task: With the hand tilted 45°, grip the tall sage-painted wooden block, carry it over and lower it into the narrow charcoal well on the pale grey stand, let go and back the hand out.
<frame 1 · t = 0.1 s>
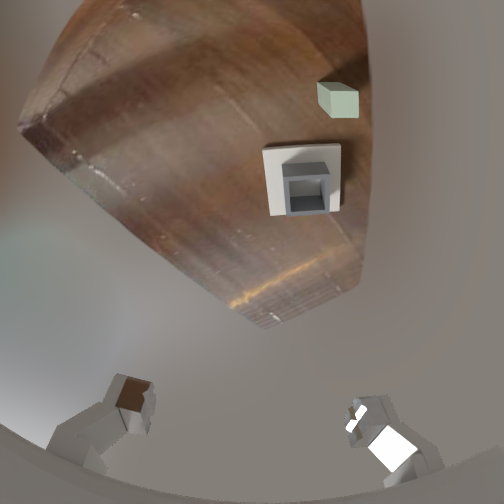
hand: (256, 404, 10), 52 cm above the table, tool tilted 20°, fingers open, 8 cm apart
sage block: (329, 92, 46), on the table
well stand: (303, 178, 59), on the table
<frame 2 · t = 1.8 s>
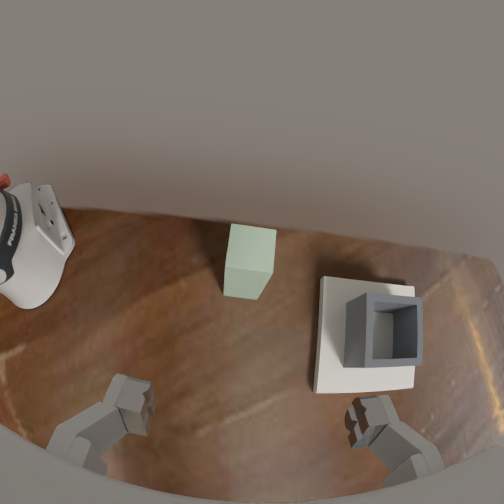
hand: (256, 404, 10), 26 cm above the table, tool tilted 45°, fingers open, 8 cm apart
sage block: (242, 281, 38), on the table
well stand: (368, 337, 37), on the table
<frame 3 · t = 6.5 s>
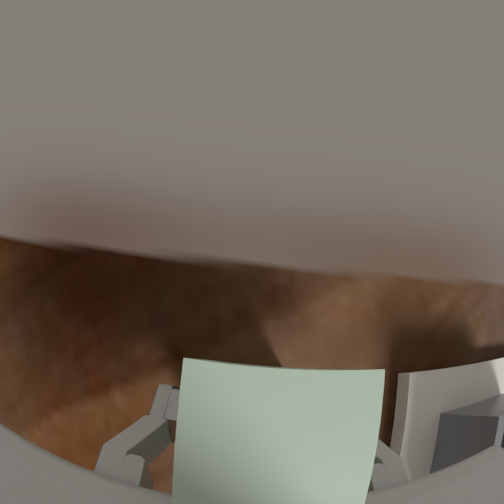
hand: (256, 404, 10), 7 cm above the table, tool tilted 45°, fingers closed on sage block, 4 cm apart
sage block: (243, 398, 16), on the table, touching gripper
well stand: (456, 449, 14), on the table
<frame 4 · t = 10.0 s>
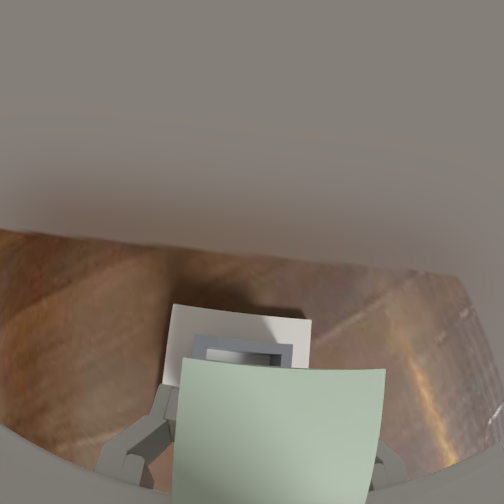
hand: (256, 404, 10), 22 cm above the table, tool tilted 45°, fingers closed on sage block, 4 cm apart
sage block: (243, 398, 16), point 15 cm above the table, touching gripper
well stand: (235, 382, 30), on the table
when the fingers open (10 cm above the table, at t = 13.4 s): sage block drops 1 cm, resting on well stand.
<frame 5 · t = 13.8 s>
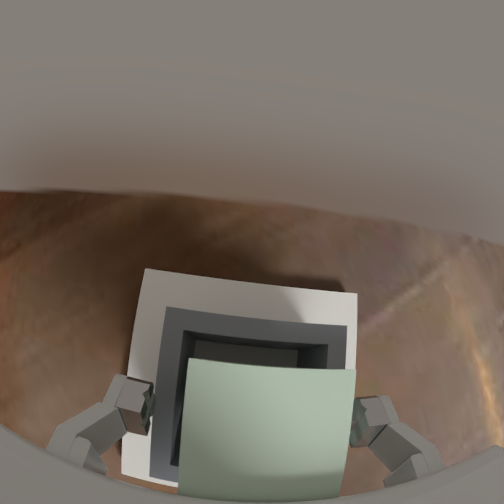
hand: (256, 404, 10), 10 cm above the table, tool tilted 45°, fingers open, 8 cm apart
sage block: (240, 395, 17), point 1 cm above the table, touching well stand
well stand: (240, 393, 18), on the table
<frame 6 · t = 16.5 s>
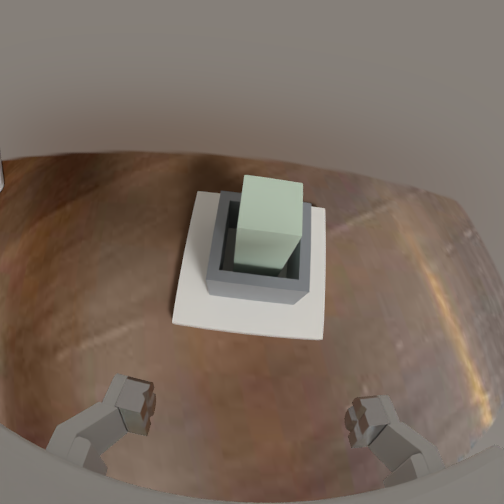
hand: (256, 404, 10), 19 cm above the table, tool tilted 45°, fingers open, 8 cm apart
sage block: (255, 260, 31), point 1 cm above the table, touching well stand
well stand: (254, 264, 33), on the table
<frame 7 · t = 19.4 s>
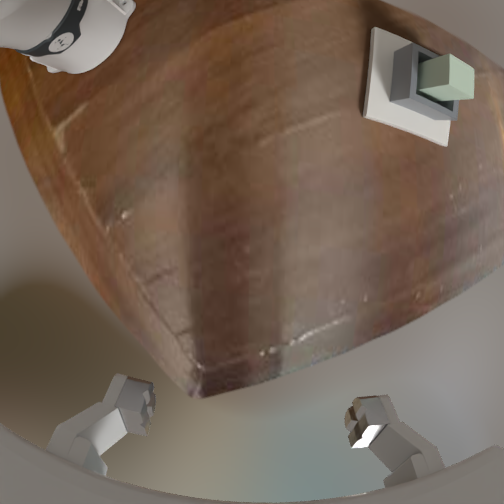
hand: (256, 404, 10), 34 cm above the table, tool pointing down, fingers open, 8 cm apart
sage block: (415, 85, 32), point 1 cm above the table, touching well stand
well stand: (411, 86, 33), on the table
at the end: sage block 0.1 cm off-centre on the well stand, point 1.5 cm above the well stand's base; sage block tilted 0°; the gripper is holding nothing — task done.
